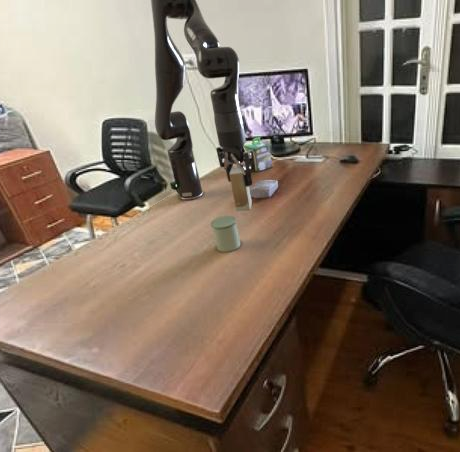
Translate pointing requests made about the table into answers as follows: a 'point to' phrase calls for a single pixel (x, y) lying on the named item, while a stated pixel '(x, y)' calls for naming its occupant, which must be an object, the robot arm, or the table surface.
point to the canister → (226, 233)
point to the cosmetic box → (240, 190)
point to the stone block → (263, 189)
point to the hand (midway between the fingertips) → (240, 183)
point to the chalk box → (260, 154)
